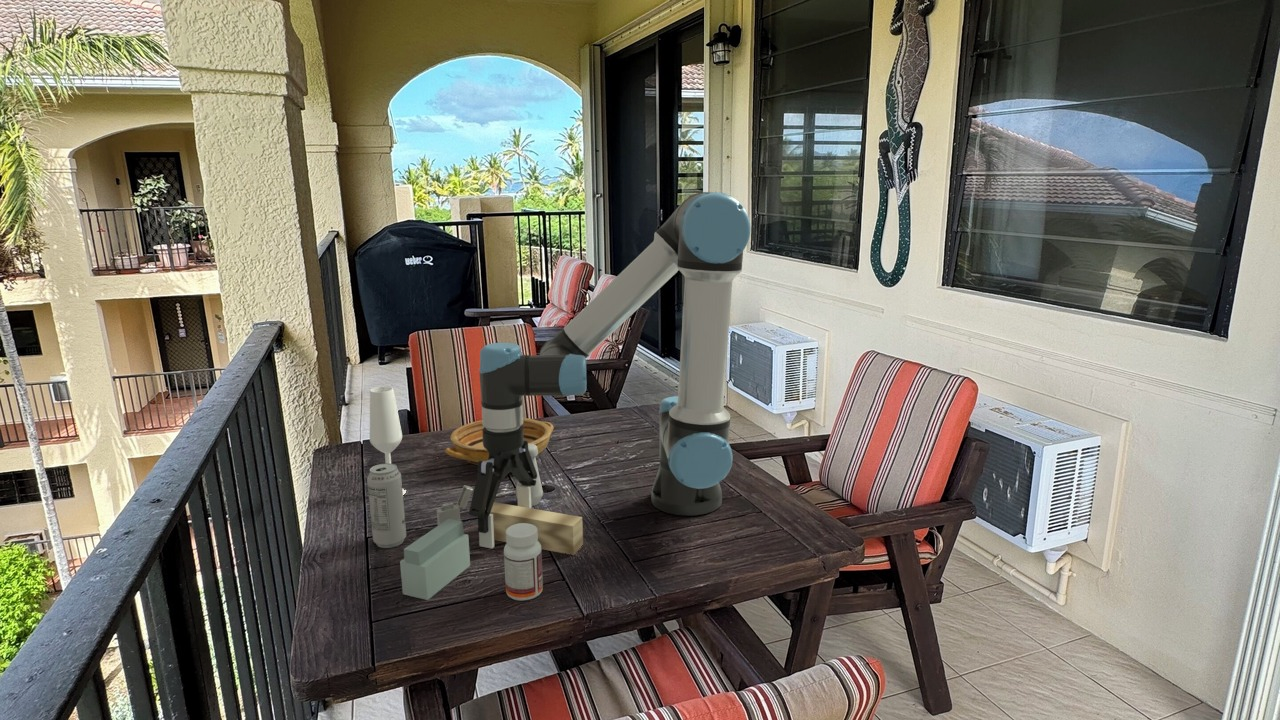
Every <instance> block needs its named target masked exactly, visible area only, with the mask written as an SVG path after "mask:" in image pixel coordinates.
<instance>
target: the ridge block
mask: <svg viewBox="0 0 1280 720" xmlns="http://www.w3.org/2000/svg"><path fill="white" fill-rule="evenodd" d="M469 544H470V542H469V534H466V533H464V522H463V521H462V520H460V521H458V520H453V519H447V520H446V521H444V522H443V523H441V524H440V525H438V524H437V525H436V526H435V527H434V528H432V529H431V530H430V531H428V532H427V533H425V534H424V535H422V536H420V537H419V538H417V539H416V540H415V541H414V542H413V541H412V543H411V544H409V545H408V546H406V547H405V548H403V557H404V558H403V559H401V560H400V561H399V564H400V567H399V569H400V577H401V578H400V579H401V585H402V586H401V589H402V595H405V596H409V597H414V598H416V599H417V598H418V599H420V600H421V599H422V600H424V601H425V600H426V601H428V600H430V599H431V598H433V597H434V596H435V595H436V594H438V592H440V591H441V590H442V589H443V588H444V587H446V586H447V585H448V584H450V583H451V582H452V581H453V580H455V579H456V578H457V577H458V576H459V575H461V574H462V573H463V572H465V571H466V570H467V569H468V568H469V567H471V558H470V555H471V554H470V545H469Z"/></svg>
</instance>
